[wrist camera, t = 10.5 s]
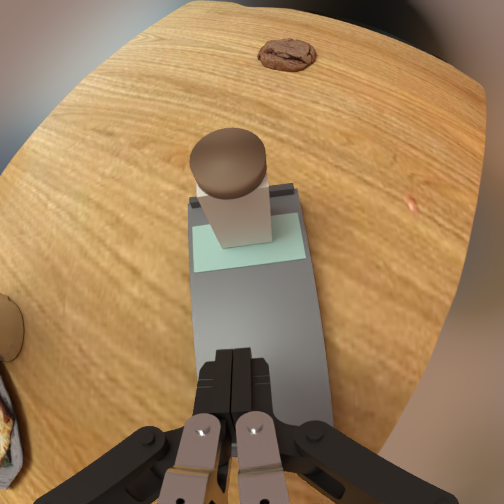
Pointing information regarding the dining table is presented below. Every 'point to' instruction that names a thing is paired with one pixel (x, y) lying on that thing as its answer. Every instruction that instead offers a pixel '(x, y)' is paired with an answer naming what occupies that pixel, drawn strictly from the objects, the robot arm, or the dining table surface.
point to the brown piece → (233, 186)
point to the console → (263, 307)
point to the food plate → (9, 439)
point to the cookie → (287, 55)
